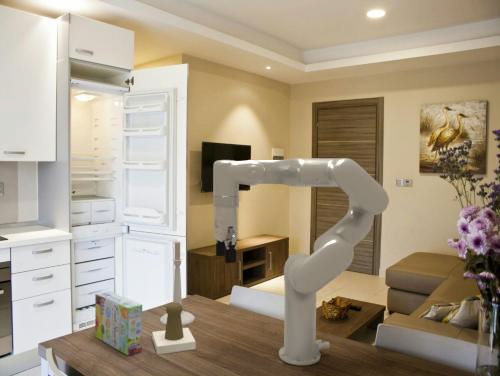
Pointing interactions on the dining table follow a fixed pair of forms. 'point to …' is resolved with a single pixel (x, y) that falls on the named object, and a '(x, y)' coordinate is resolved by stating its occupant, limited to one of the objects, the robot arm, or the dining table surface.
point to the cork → (174, 322)
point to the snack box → (118, 322)
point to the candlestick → (178, 290)
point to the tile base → (173, 342)
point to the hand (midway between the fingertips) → (225, 259)
